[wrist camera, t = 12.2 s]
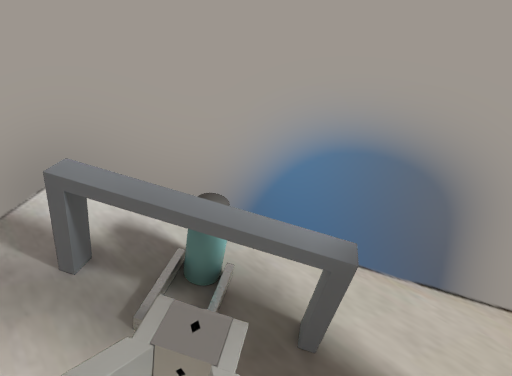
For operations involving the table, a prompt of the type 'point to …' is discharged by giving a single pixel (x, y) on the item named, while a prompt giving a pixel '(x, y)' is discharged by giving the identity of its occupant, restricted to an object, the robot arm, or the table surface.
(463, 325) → the table surface
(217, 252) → the teal water bottle
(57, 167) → the arch
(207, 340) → the robot arm
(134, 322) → the guide rails
